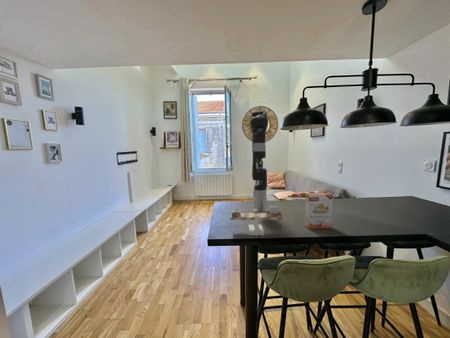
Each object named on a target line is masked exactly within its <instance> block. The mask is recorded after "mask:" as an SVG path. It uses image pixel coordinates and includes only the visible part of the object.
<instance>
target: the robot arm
mask: <svg viewBox="0 0 450 338" xmlns="http://www.w3.org/2000/svg"><path fill="white" fill-rule="evenodd" d="M249 121H250V123H249V125H250V127H251V130H252V131H251V133H252V134H251V135H252V140H251V141H252V146H251V149H252V150H251V151H252V166H251V169H252V170H251V178H252V180H253V181H256V182H257V181H261V182H260V183H258V184H255V185H254V188H253V189H254V190H253V191H254V192H253V195H254V196H253V198H254V199H253V203H254V206H253V207H254V208H253V209H257V213H266V211H268V198H267V197H268V196H267V190H268V189H267V179H268V172H267V171H268V170H267V169H266V168H264V161H263V159H266V158H267V157H266V156H267V154H266V152H267V151H266V150H267V149H266V133H267V129H268V125H269V118H268V114H267V112H266V111H264V110H257V111H255V110H254V111H252V112H251V119H250V120H249ZM259 129H260V130H261V129H262V130H261V131H260V132H259Z"/></svg>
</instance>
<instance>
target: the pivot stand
mask: <svg viewBox="0 0 450 338" xmlns="http://www.w3.org/2000/svg"><path fill="white" fill-rule="evenodd" d="M252 213H257V209H254V208H253V212H252ZM252 221H253V224H248V233H249V236H250V235H256V236H257V235H261V237H262V235H263V237H264V236H265V231H264V228H263V225H262V224H259V220H258V215H255V220H252ZM256 236H255V237H256ZM257 237H258V236H257Z"/></svg>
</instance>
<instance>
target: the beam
mask: <svg viewBox="0 0 450 338" xmlns="http://www.w3.org/2000/svg"><path fill="white" fill-rule="evenodd" d="M255 215H258V221H283V214H282V212H281V211H280V210H279V215H269V210H267V211H266V212H265V213H253V212H241V209H237V208H236V209H235V208H234V209H231V213H230V220H231V221H232V220H233V221H238V220H240V221H241V220H242V221H244V220H245V221H253V220H255Z"/></svg>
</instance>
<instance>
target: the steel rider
mask: <svg viewBox="0 0 450 338" xmlns="http://www.w3.org/2000/svg"><path fill="white" fill-rule="evenodd" d="M268 211H269V215H279V211H280V208H279V206H278V205H268Z"/></svg>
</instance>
